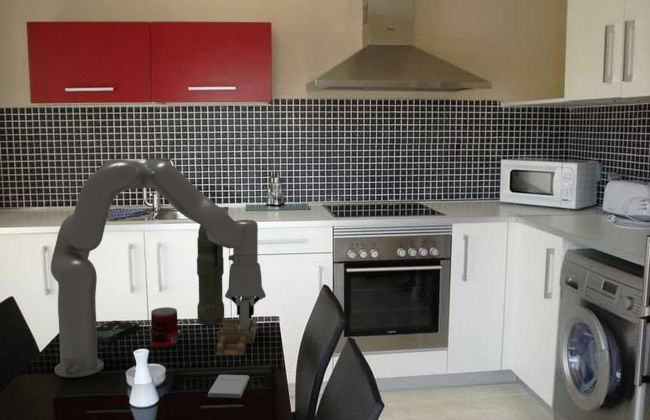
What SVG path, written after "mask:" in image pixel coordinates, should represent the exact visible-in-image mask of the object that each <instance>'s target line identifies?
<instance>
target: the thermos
mask: <svg viewBox="0 0 650 420" xmlns="http://www.w3.org/2000/svg"><path fill="white" fill-rule="evenodd" d="M196 239H197V242H196V243H197V257H196V274H197V276H198V303H197V305H196V306H197V310H196V311H197V319H198V320H197V321H198V324H199V325H203V326H217V325H221V324H222V319H225V304H224V301H223V275H224V274H225V272H224V268H225V267H224V259H225V258H224V247H223V246H220V245H217V244H214V243H212V242H211V241H210V240H209V239H208V237H207V235H206V229H205V228H204V227H203V226H201V225H200V224H199V227H198V236H197V238H196Z"/></svg>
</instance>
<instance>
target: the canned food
mask: <svg viewBox="0 0 650 420" xmlns="http://www.w3.org/2000/svg"><path fill="white" fill-rule="evenodd" d="M150 312H151V313H150V314H151V315H150V318H151V319H150V320H151V321H150V322H151V323H150V324H151V327H150V328H151V345H152V348H153V349H157V347H159V348H167V347H172V346H175V345H176V344H178V342H179V340H178V310H177V309H176V308H175V307H169V306H168V307H167V306H166V307H158V308H154V309H153V310H151V311H150Z"/></svg>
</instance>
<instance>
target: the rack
mask: <svg viewBox="0 0 650 420" xmlns="http://www.w3.org/2000/svg"><path fill="white" fill-rule="evenodd" d="M221 324H222V325H221V326H223V324H236V325H238V330H237V331H222V329H221V330H217V331H216V343H217V344H218V342H219V339H220V337H221V336H226V344H238V343H239V340H240V337H241V336H246V344H254V343H255V338H256V334H257V327H258V326H257V318H251V330H250V331H240V318H224V319H222V323H221ZM217 344H216V345H217Z"/></svg>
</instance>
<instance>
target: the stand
mask: <svg viewBox="0 0 650 420" xmlns="http://www.w3.org/2000/svg"><path fill="white" fill-rule="evenodd" d="M246 348H247V343H246V336H241V337H240V340H239V343H226V336H221V337H220V339H219V342H218V344H216V354H215V356H244V355H245V351H246Z"/></svg>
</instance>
